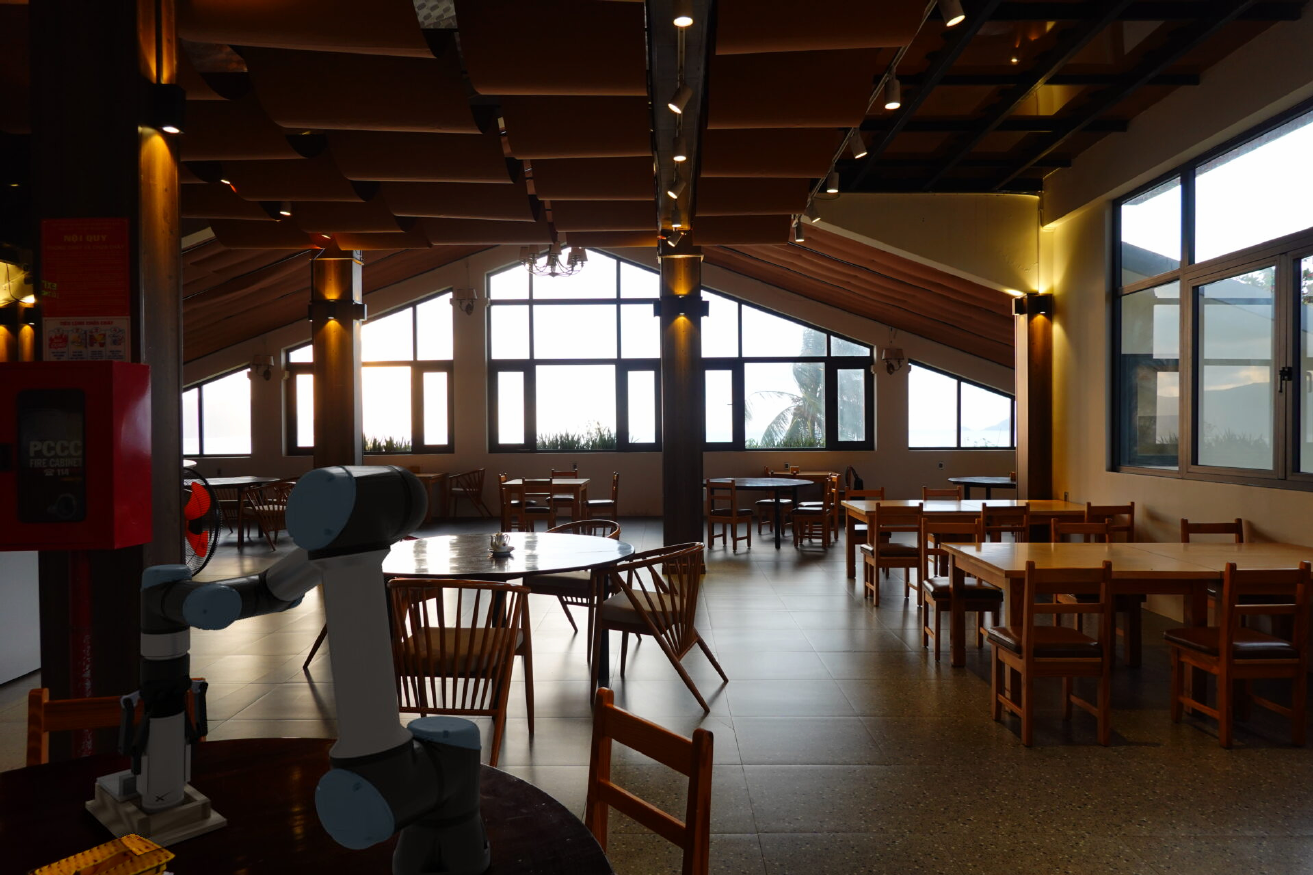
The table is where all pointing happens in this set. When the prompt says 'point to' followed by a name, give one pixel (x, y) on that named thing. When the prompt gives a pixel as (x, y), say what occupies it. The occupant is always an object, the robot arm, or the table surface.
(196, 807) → the holder
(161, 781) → the travel mug
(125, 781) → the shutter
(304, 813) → the table surface
